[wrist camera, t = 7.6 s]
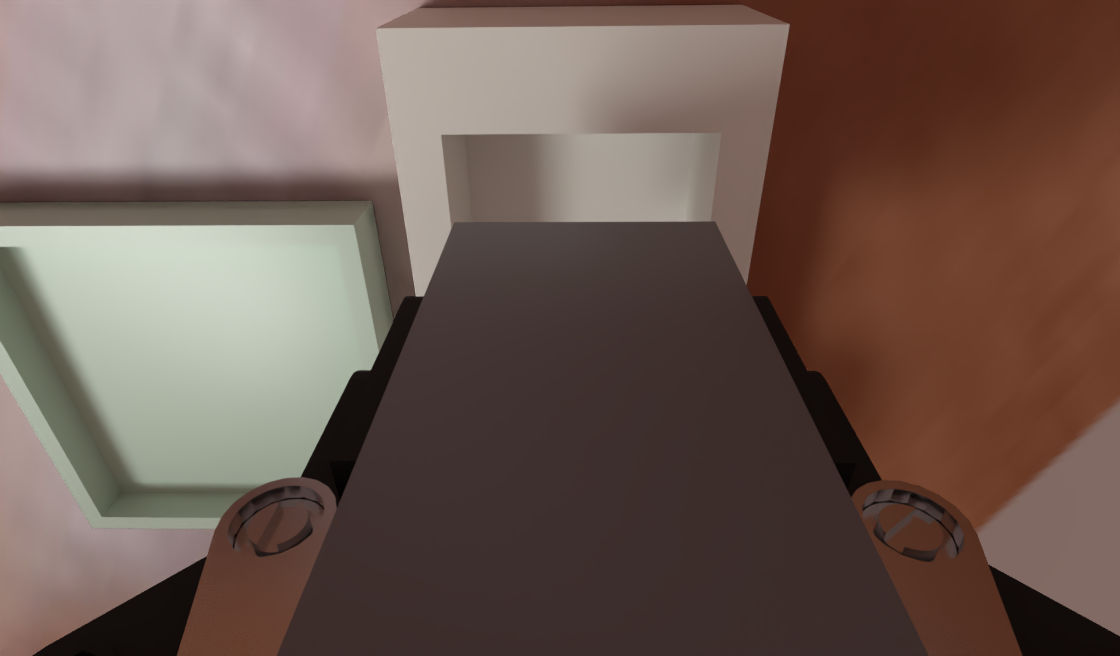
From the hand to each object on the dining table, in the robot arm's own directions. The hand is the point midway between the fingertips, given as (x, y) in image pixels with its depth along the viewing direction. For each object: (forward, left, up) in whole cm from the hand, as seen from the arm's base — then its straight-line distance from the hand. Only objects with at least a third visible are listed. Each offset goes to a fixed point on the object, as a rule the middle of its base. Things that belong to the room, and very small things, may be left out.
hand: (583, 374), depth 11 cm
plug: (0, 0, -1) cm, 1 cm away
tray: (-12, -6, -9) cm, 16 cm away
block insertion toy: (0, -5, -9) cm, 10 cm away
